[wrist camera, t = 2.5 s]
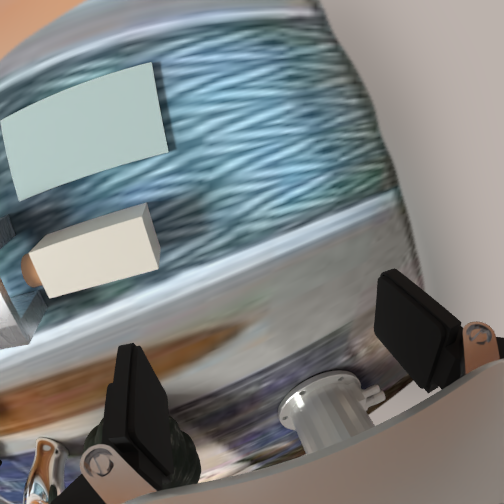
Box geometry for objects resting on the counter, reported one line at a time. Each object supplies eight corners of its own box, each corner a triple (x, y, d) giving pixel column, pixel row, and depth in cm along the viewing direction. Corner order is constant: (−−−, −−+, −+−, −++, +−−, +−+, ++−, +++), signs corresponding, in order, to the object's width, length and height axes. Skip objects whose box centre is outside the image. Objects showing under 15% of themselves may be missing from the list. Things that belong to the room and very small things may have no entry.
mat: (152, 63, 19) (151, 62, 19) (168, 151, 23) (168, 152, 22) (3, 120, 17) (0, 120, 17) (21, 200, 21) (19, 201, 20)
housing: (8, 214, 21) (-24, 237, 15) (47, 307, 25) (29, 344, 20) (-19, 226, 20) (-51, 250, 15) (20, 314, 24) (0, 349, 19)
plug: (147, 201, 24) (141, 216, 20) (160, 247, 26) (158, 269, 22) (30, 240, 22) (11, 259, 19) (47, 279, 24) (32, 303, 20)
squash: (113, 486, 32) (177, 545, 23) (47, 435, 26) (102, 512, 17) (169, 430, 42) (241, 474, 32) (120, 370, 35) (195, 419, 26)
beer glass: (68, 441, 33) (60, 523, 20) (74, 460, 36) (70, 533, 22) (29, 431, 31) (14, 509, 18) (38, 451, 33) (28, 522, 20)
